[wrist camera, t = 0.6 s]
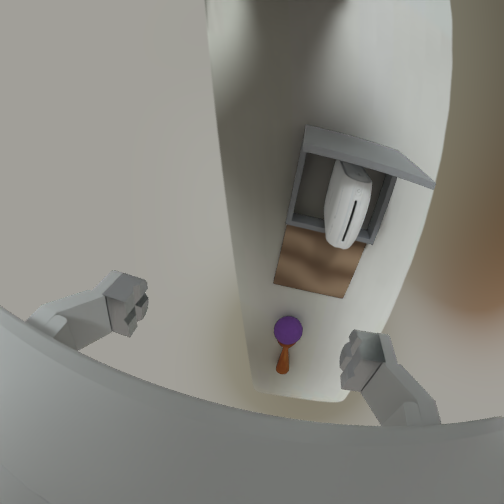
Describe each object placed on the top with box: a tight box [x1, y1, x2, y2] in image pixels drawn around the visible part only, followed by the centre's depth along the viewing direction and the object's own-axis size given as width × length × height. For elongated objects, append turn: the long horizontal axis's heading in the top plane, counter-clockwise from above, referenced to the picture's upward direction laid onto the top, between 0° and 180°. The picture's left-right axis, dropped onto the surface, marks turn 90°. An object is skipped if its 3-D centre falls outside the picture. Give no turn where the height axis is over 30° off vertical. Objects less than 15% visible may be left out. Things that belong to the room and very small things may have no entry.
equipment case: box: [286, 125, 436, 245], centre depth 35 cm, size 15×15×15 cm
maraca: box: [274, 316, 303, 374], centre depth 62 cm, size 6×6×20 cm
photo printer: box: [324, 160, 372, 249], centre depth 37 cm, size 10×4×12 cm, turn 172°
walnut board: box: [273, 225, 366, 298], centre depth 50 cm, size 13×14×1 cm
